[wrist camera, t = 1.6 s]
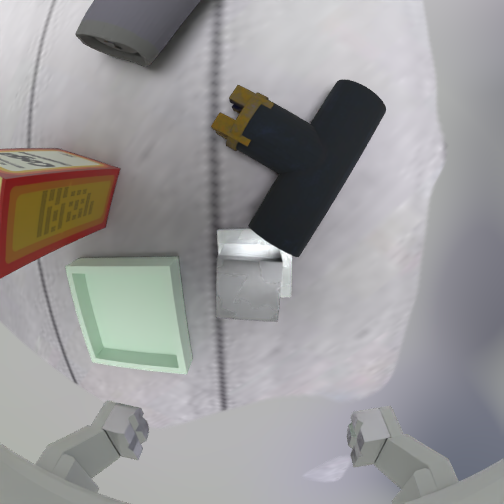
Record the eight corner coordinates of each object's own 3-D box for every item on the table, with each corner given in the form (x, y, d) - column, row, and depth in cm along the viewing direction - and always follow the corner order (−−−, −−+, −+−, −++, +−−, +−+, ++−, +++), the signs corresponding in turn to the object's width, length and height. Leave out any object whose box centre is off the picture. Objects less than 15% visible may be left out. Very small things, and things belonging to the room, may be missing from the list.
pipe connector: (173, 188, 21) (273, 32, 18) (189, 186, 26) (270, 57, 23) (303, 263, 22) (395, 108, 19) (295, 248, 27) (372, 119, 24)
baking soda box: (120, 168, 26) (1, 179, 11) (105, 227, 28) (-4, 280, 13) (57, 148, 26) (-54, 153, 10) (46, 201, 27) (-59, 233, 12)
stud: (222, 295, 30) (215, 316, 25) (217, 228, 28) (209, 240, 23) (290, 294, 29) (294, 316, 25) (291, 227, 27) (296, 238, 23)
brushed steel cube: (224, 292, 29) (216, 317, 23) (225, 243, 27) (216, 258, 22) (274, 295, 28) (277, 321, 23) (278, 246, 27) (283, 262, 22)
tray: (102, 349, 33) (92, 362, 30) (79, 257, 29) (65, 266, 26) (192, 358, 32) (187, 374, 29) (178, 256, 28) (169, 266, 26)
